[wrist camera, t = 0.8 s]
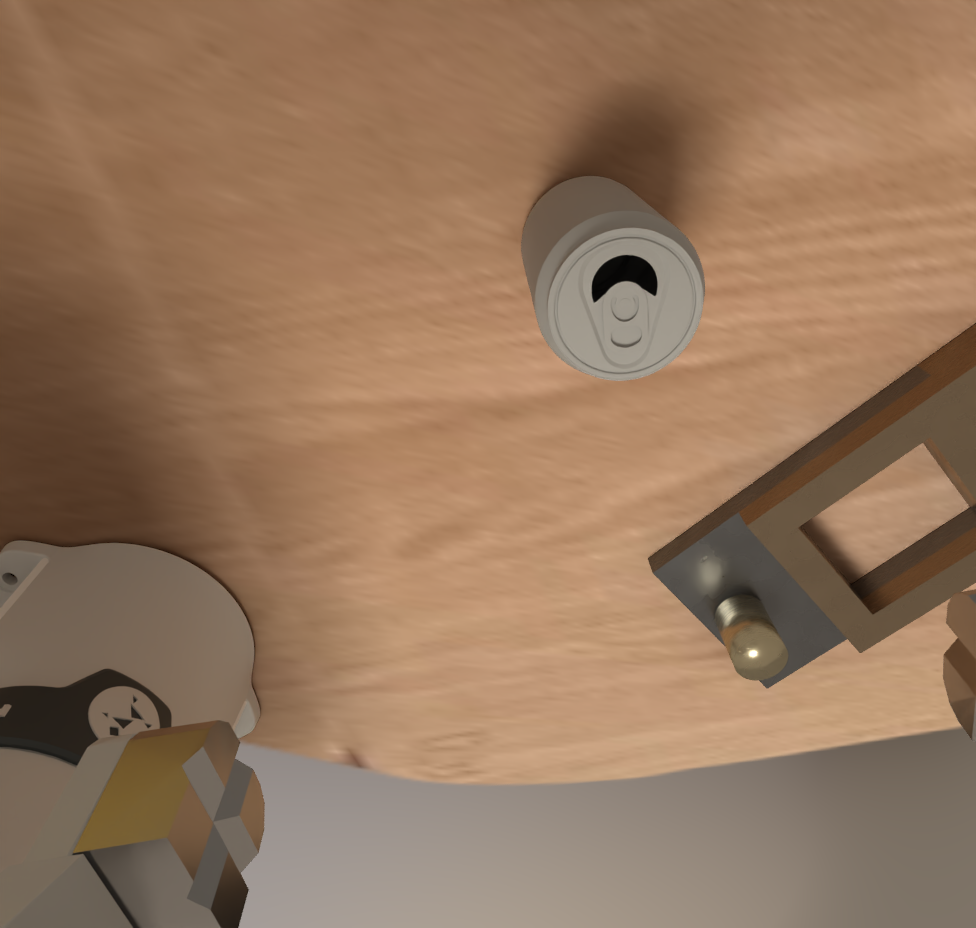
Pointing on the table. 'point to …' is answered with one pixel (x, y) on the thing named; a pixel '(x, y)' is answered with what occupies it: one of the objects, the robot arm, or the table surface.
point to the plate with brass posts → (795, 556)
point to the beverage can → (610, 279)
